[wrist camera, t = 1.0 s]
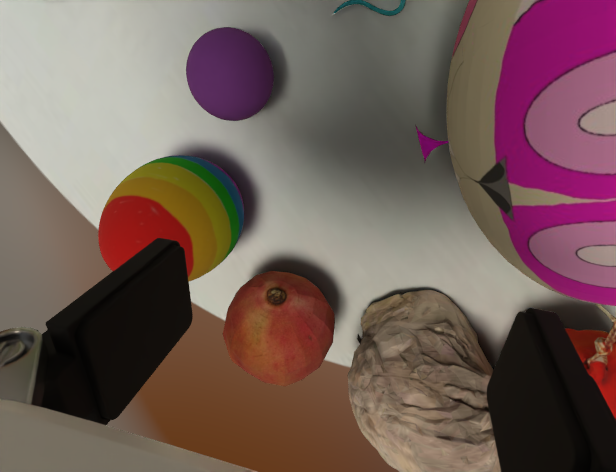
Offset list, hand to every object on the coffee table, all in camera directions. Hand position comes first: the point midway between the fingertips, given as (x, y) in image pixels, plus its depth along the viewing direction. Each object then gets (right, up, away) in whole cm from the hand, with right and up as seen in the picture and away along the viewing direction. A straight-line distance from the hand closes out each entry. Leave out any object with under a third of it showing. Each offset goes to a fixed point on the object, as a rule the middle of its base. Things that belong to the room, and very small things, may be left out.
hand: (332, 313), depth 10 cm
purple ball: (-5, +12, +11) cm, 17 cm away
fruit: (-3, -1, +14) cm, 14 cm away
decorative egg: (-8, +5, +18) cm, 21 cm away
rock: (+9, -8, +21) cm, 24 cm away
